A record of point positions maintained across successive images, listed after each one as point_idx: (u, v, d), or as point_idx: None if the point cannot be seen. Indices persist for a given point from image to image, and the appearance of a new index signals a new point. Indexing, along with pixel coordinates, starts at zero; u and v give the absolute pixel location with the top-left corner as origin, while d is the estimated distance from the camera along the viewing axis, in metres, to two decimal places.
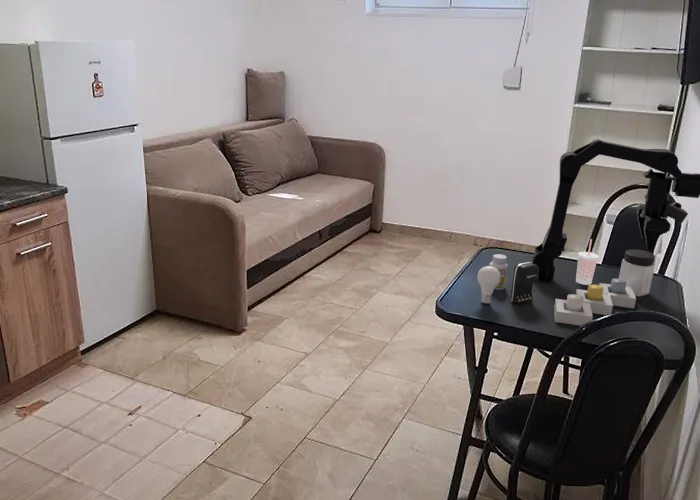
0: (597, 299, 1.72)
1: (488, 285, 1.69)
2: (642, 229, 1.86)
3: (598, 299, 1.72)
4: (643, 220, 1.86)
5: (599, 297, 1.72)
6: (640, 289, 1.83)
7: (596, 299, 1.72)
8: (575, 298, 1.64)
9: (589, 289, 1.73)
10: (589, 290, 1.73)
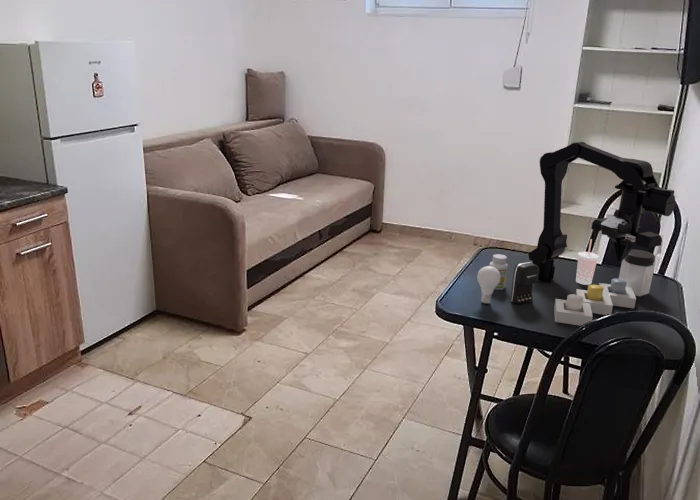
0: (597, 299, 1.72)
1: (488, 285, 1.69)
2: None
3: (598, 299, 1.72)
4: None
5: (599, 297, 1.72)
6: (640, 289, 1.83)
7: (596, 299, 1.72)
8: (575, 298, 1.64)
9: (589, 289, 1.73)
10: (589, 290, 1.73)
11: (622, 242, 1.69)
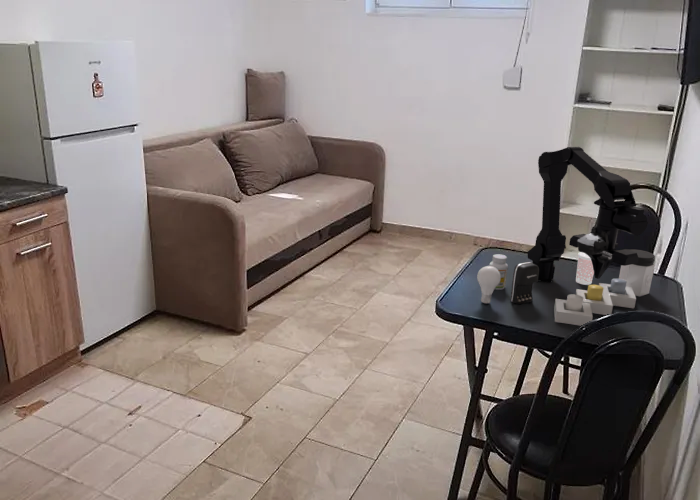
0: (597, 299, 1.72)
1: (488, 285, 1.69)
2: None
3: (598, 299, 1.72)
4: None
5: (599, 297, 1.72)
6: (640, 289, 1.83)
7: (596, 299, 1.72)
8: (575, 298, 1.64)
9: (589, 289, 1.73)
10: (589, 290, 1.73)
11: (599, 259, 1.68)
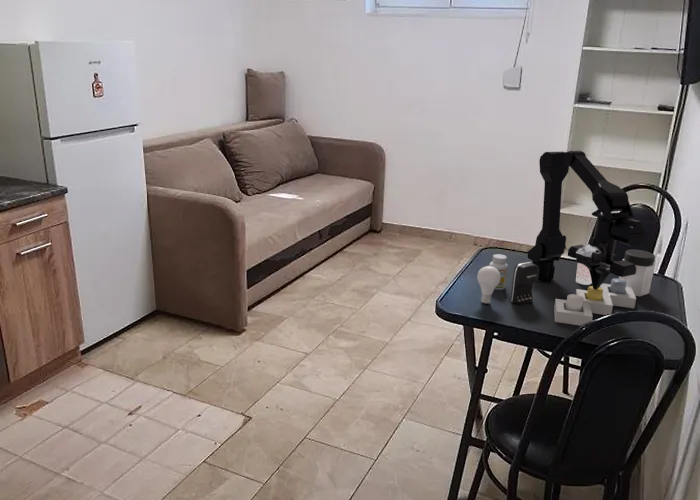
0: None
1: (488, 285, 1.69)
2: None
3: (598, 300, 1.72)
4: None
5: (599, 299, 1.72)
6: (640, 289, 1.83)
7: None
8: (575, 298, 1.64)
9: (589, 291, 1.73)
10: (588, 292, 1.73)
11: (597, 270, 1.69)
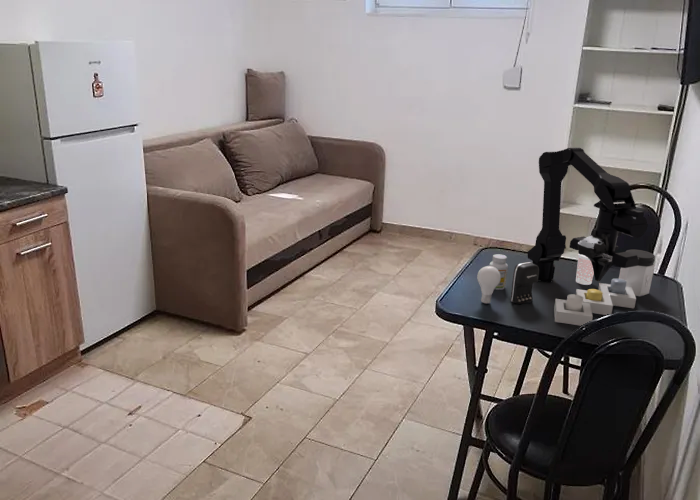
0: None
1: (488, 285, 1.69)
2: None
3: None
4: None
5: None
6: (640, 289, 1.83)
7: None
8: (575, 298, 1.64)
9: (588, 293, 1.73)
10: (588, 295, 1.73)
11: (599, 262, 1.68)
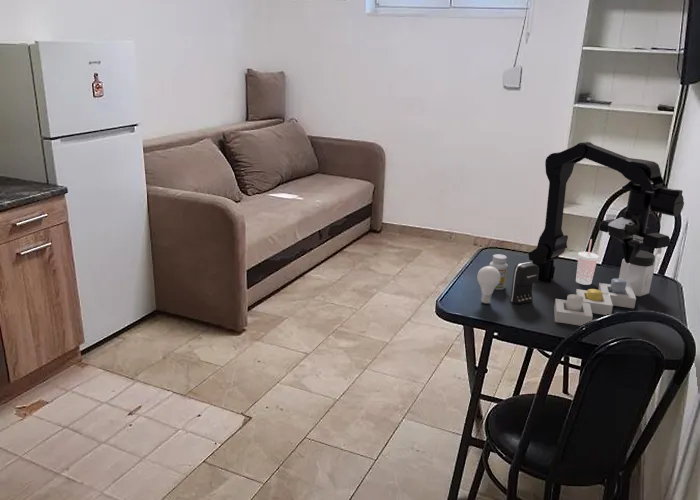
0: None
1: (488, 285, 1.69)
2: None
3: None
4: None
5: None
6: (640, 289, 1.83)
7: None
8: (575, 298, 1.64)
9: (588, 293, 1.73)
10: (588, 295, 1.73)
11: (630, 243, 1.67)
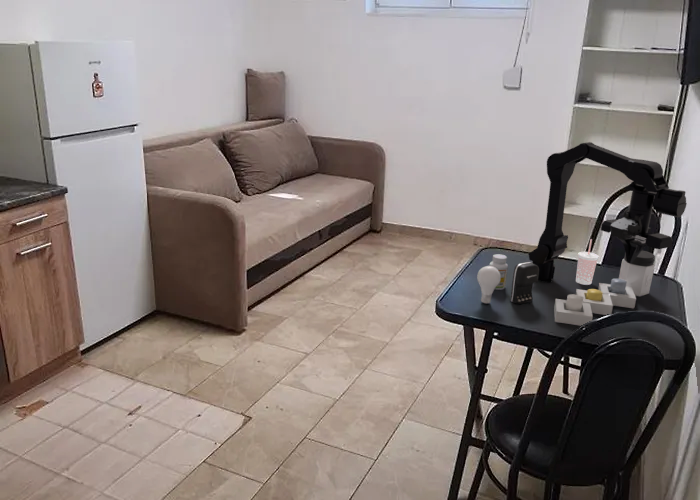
0: None
1: (488, 285, 1.69)
2: None
3: None
4: None
5: None
6: (640, 289, 1.83)
7: None
8: (575, 298, 1.64)
9: (588, 293, 1.73)
10: (588, 295, 1.73)
11: (632, 243, 1.68)
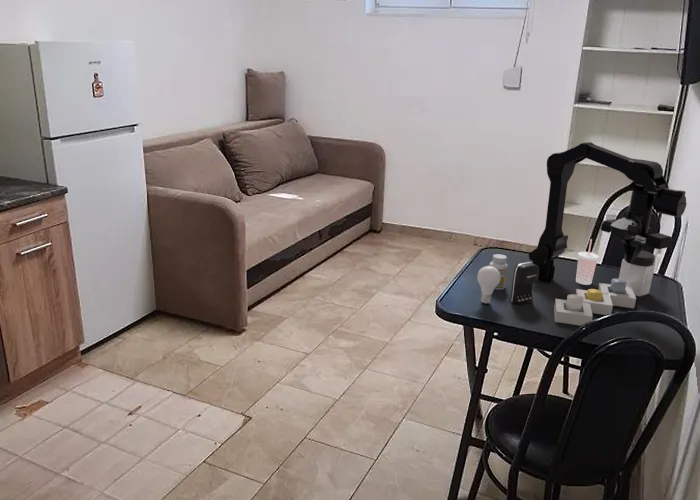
0: None
1: (488, 285, 1.69)
2: None
3: None
4: None
5: None
6: (640, 289, 1.83)
7: None
8: (575, 298, 1.64)
9: (588, 293, 1.73)
10: (588, 295, 1.73)
11: (632, 243, 1.68)
